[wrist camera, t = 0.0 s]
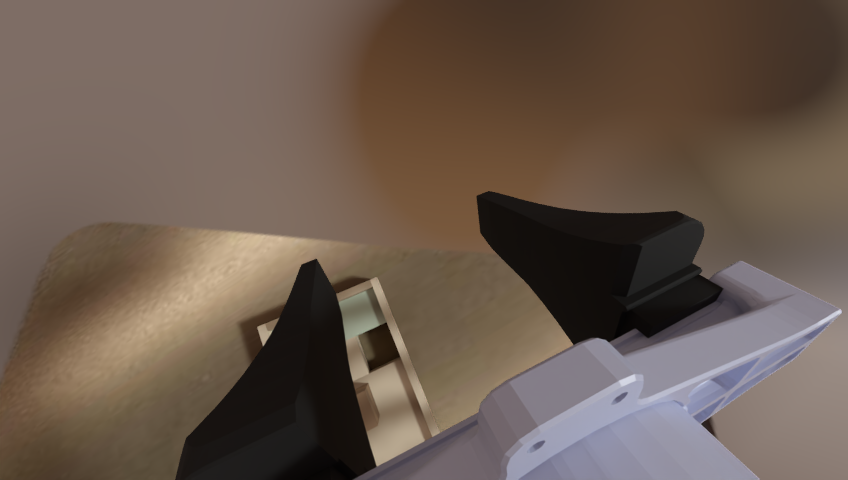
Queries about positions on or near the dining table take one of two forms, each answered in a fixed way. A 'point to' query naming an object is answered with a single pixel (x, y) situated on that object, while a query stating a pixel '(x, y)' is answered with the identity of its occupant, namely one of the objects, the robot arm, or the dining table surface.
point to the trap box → (382, 374)
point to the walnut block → (367, 407)
